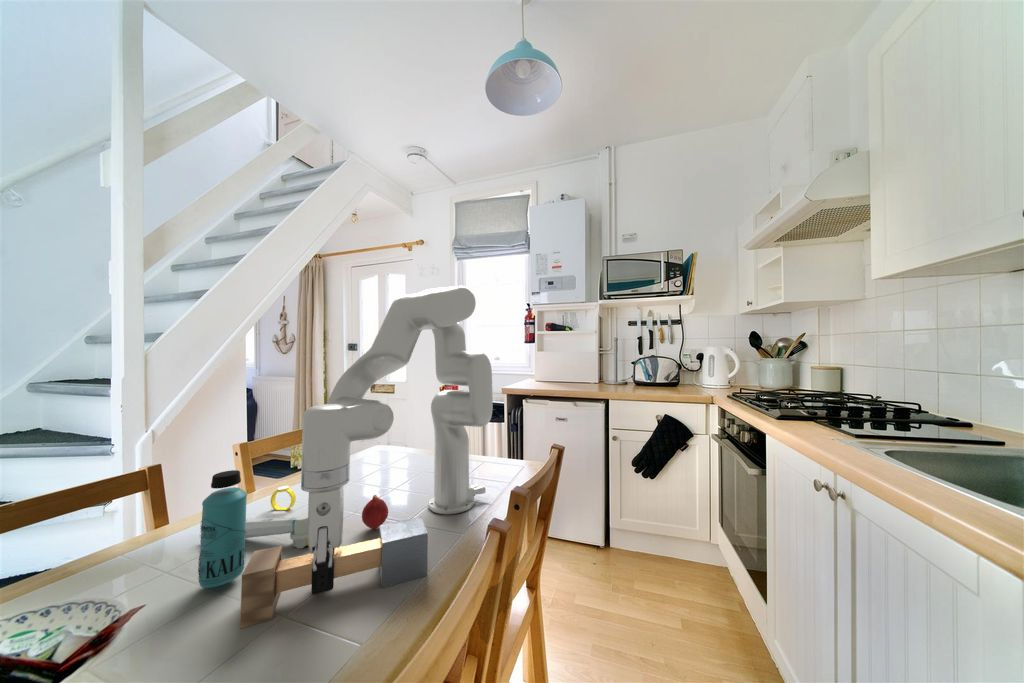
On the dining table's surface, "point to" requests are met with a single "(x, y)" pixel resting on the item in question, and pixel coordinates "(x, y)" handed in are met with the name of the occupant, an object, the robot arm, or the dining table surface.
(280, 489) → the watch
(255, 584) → the socket
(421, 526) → the sleeve
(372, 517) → the onion
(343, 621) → the dining table surface
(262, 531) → the white long handled piece
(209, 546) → the beverage bottle
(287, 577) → the banded wooden beam
